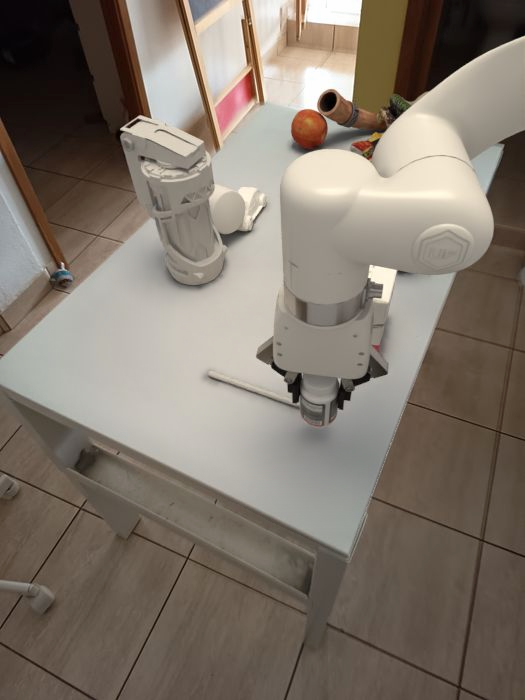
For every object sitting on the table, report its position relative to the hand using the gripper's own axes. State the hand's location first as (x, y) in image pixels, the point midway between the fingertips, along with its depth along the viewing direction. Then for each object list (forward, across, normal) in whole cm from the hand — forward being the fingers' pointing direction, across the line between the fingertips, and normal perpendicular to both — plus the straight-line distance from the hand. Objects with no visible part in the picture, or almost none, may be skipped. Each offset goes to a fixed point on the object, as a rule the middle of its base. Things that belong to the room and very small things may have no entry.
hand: (319, 395), depth 58 cm
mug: (+3, +22, -36) cm, 42 cm away
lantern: (+8, +27, -30) cm, 41 cm away
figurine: (+2, -14, -77) cm, 78 cm away
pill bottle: (+4, 0, 0) cm, 4 cm away
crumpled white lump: (+9, +21, -46) cm, 51 cm away
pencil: (+9, +10, -5) cm, 14 cm away
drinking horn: (+8, 0, -84) cm, 84 cm away
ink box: (+9, -5, -19) cm, 21 cm away
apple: (+9, +12, -74) cm, 75 cm away
